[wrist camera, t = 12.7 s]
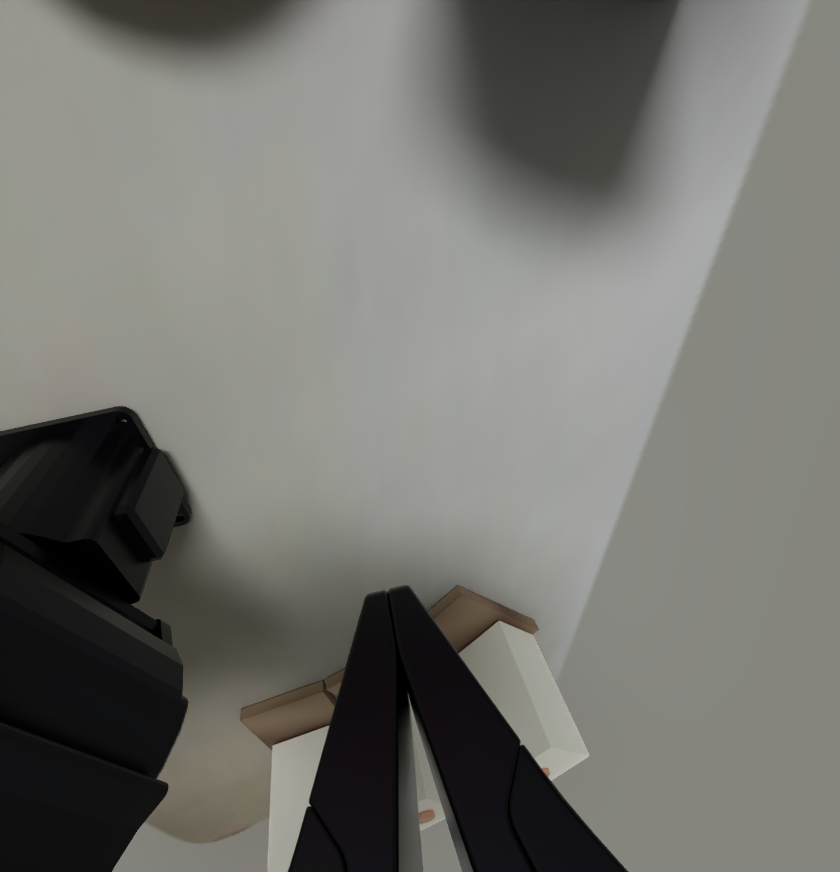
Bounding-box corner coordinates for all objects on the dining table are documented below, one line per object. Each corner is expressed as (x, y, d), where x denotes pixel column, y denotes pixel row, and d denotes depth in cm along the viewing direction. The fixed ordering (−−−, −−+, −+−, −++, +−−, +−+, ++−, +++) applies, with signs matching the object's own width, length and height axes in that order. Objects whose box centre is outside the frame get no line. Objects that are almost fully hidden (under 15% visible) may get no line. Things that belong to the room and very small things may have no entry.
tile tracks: (277, 757, 37) (277, 768, 37) (201, 655, 28) (198, 667, 28) (532, 680, 40) (536, 689, 39) (535, 563, 31) (540, 573, 30)
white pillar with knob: (450, 660, 33) (488, 794, 26) (498, 620, 32) (552, 750, 25) (485, 672, 35) (529, 799, 28) (533, 635, 34) (591, 759, 27)
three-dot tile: (272, 745, 34) (266, 894, 27) (336, 722, 34) (346, 865, 28) (293, 765, 36) (292, 907, 30) (353, 743, 37) (365, 879, 30)
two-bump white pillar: (341, 694, 32) (352, 840, 26) (400, 661, 32) (427, 802, 25) (372, 712, 35) (390, 850, 28) (428, 681, 34) (460, 816, 27)
